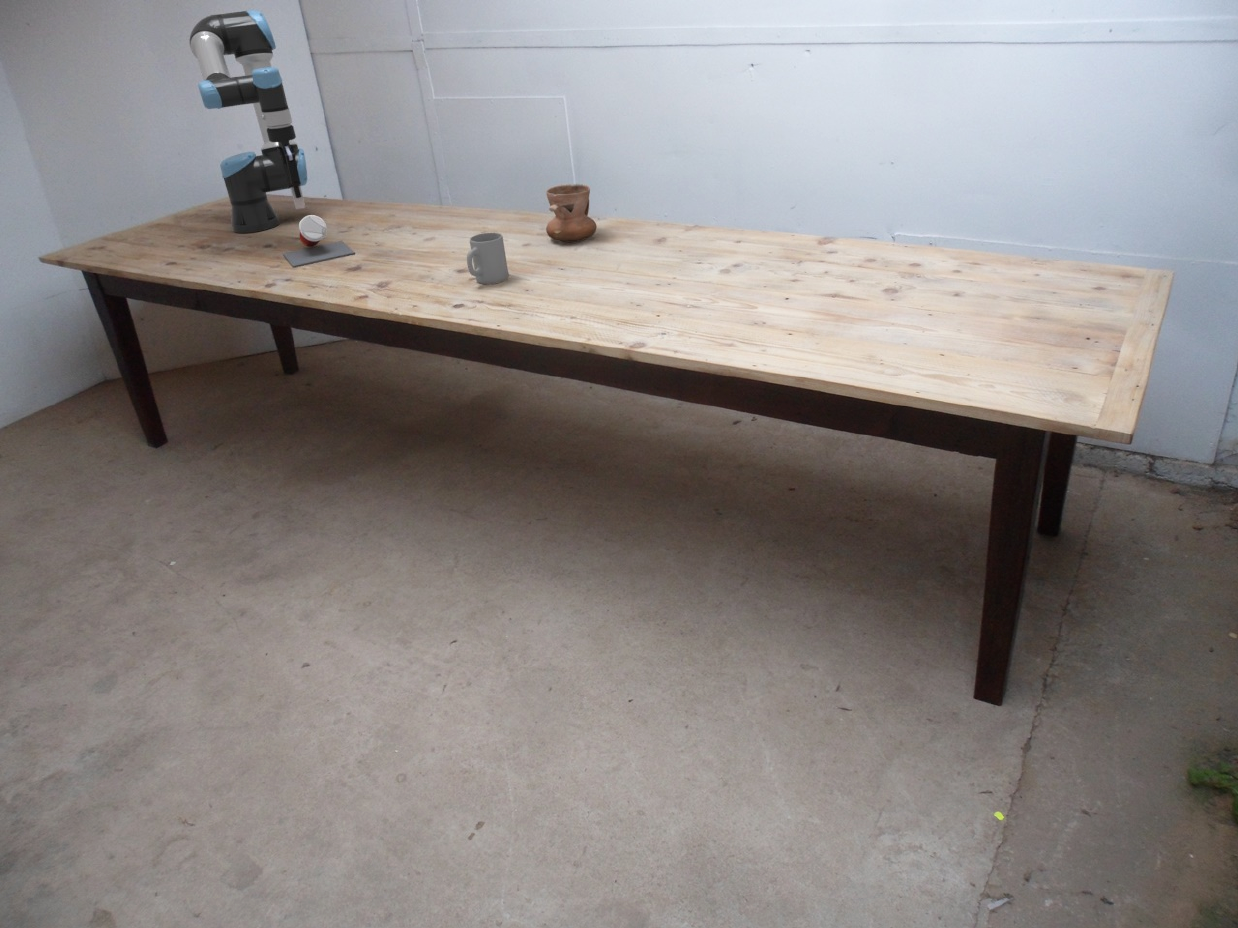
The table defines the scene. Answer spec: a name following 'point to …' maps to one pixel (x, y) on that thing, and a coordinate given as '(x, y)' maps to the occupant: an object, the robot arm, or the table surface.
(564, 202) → the ceramic jug
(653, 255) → the table surface
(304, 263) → the rubber mat
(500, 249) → the mug
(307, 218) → the paper cup
